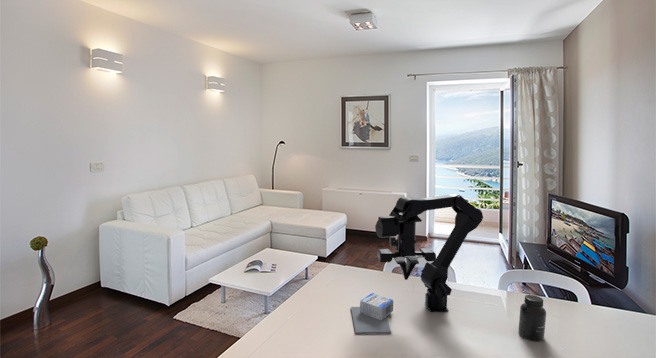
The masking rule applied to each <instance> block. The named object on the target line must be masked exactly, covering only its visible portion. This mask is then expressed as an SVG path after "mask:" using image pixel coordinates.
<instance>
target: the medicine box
mask: <svg viewBox="0 0 656 358" xmlns="http://www.w3.org/2000/svg"><path fill="white" fill-rule="evenodd" d="M359 307H360V313H363V314H365V315H368V316H371V317H373V318H376V319H379V320H383V319H384V318H385V317H386V318H387V317H388V316H389V315H390V314H392V313H393V312H394V299H392V298H389V297H386V296H383V295H380V294H378V293H377V294H376V293H373V292H372V293H370V294H368V295H367V296H365V297H364V298H363V299H361V300H360V301H359Z"/></svg>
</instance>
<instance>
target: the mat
mask: <svg viewBox="0 0 656 358" xmlns="http://www.w3.org/2000/svg"><path fill="white" fill-rule="evenodd" d="M350 312H351V316H352V317H351V318H352V322H353V325H354V326H353V327H354V332H355V333H354V334H355V335H380V334H386V335H389V334H392V330H391V326H390V325H389V322H388V320H387V316H386V317H385V318H384V319H383V320H379V319H376V318H373V317H371V316H368V315H365V314H363V313H360V306H350Z"/></svg>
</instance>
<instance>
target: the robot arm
mask: <svg viewBox="0 0 656 358" xmlns="http://www.w3.org/2000/svg"><path fill="white" fill-rule="evenodd" d="M395 203H396V204H395V206H394V207H393V209H392V210H391V211H390V213H389V215H388V216H378V219H377V221H376V224H375V226H374V227H375V233H376V235H377V237H378V238H380V239H381V238H389V247H394V249H395V250H396V251H391V250H390V249H389V248H378V250H377V259H378V261H379V263H391V262H392V261H393V260H394V261H395V263H396V264H397V265H399V266H400V269H401V271H402V272H401V273H402V276H403V279H404V280H405V281H406V280H407V281H408V280H409V278H410V276H411V274H412V271H413V270H414V268H415V267H416V266H417V265H419V264H420V262H419V260H418V259H419V258H423V259H424V260H425V261H426V263H425V265H424V267H423V268H422V270H420V273H421V274H420V280H421V283H423V285H424V287H425V288H427V289H426V293H425V302H424V305H425V306H426V307H427V309H428V310H429V312H436V313H437V312H449V308H448V306H447V305H448V296H450V295H451V293H452V288H451V287H450V286H449V285H448V284H447V281H448V275H449V273H448V272H449V271H448V270H449V267H450V265H452V262H453V261H454V259H455V257H456V255H457V253H458V251H459V250H460V249H461V247H462V245H463V243H464V241H465V240H466V238H467V235H468V234H469V233H471V232H472V231H474V230H475V229H477V228H478V227H479V226H480V224H481V223H482V222H483V219H484V215H483V212H482V210H481V209H480V208H477V207H475V206H474V205H473V204H472V203H470V202H469V201H467V200H466V199H465V198H464V197H463V196H462V195H460V194H459V195H458V194H457V193H456V194H455V193H450V194H445V195H438V196H437V195H436V196H430V197H429V196H428V197H422V198H421V197H420V198H419V197H414V196H413V197H412V196H401V197H399V198H398V199H397V201H396V202H395ZM446 208H452V210H453V211H454V212H455V213H456V215H455V218H454V227H453V229H452V230H451V232H450V234H449V235H448V238H447V239H446V241H445V243H444V244H443V246H442V248H441V250H440V251H439V253H438V255H437V254H436V252H435V251H434V250H432V248H429V247H425V248H424V247H423V248H421V247H420V249H419V251H416V244H417V239H416V228H417V227H416V223H420V222H422V221H423V219H421V218H420V216H419V215H421V214H423V213H424V212H428V211H432V210H439V209H446ZM396 237H397V239H396ZM430 262H431V263H430Z"/></svg>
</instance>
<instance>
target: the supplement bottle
mask: <svg viewBox="0 0 656 358" xmlns="http://www.w3.org/2000/svg"><path fill="white" fill-rule="evenodd" d="M523 302H524V303H522V304H521V305H520V309H519V317H518V319H519V320H518V334H519V335H520V336H521V337H523V338H524V339H526V340H529V341H534V342H540V341H543V340H544V339H545V333H546V321H547V310H546V309H545V308H544V299H543V298H542V297H540V296H538V295H533V294H526V295H525V296H524V300H523Z"/></svg>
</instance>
